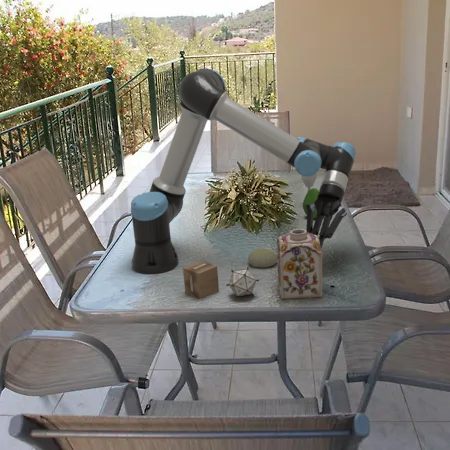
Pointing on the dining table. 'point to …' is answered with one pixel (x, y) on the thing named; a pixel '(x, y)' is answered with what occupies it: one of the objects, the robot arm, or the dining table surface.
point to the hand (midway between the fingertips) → (311, 257)
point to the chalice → (309, 180)
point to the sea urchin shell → (262, 257)
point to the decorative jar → (299, 265)
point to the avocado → (310, 200)
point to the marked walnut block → (201, 279)
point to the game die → (242, 282)
